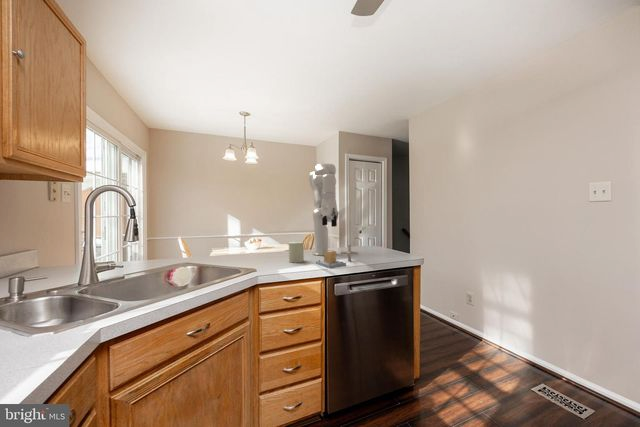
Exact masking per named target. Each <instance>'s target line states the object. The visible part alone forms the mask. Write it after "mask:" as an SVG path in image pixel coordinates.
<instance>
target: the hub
mask: <svg viewBox="0 0 640 427" xmlns="http://www.w3.org/2000/svg"><path fill="white" fill-rule="evenodd" d="M328 251H329V250H328ZM328 251H324V255H323V258H324V259H323V260H324V262H325V263H336V260H337V251H336V250H331V251H332V252H328Z"/></svg>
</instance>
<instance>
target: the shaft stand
mask: <svg viewBox="0 0 640 427" xmlns="http://www.w3.org/2000/svg"><path fill="white" fill-rule="evenodd" d="M332 251H333V250H328V252H332ZM315 265H319V266H322V267H324V268H327V269H333V268H340V267H345V266H347V264H346V262H344V261H339V260H337V259H336V263H325V262H324V259H323V260H322V259H318V260H316V261H315Z"/></svg>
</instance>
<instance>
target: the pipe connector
mask: <svg viewBox="0 0 640 427" xmlns="http://www.w3.org/2000/svg"><path fill="white" fill-rule="evenodd" d="M340 255H347V261H348V262H352V255H359V251H356V250H354V251H353V250H352V245H351V244H347V250H340Z"/></svg>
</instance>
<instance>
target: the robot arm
mask: <svg viewBox="0 0 640 427" xmlns="http://www.w3.org/2000/svg"><path fill="white" fill-rule="evenodd" d="M336 173H337V169H336V165H335V164H334V163H318V164H316V165H315V167H314V171H312V172H310V173H309V175H308V182H309V185H310V186H309V187H310V188H311V189H312V196H313V198H312V199H313V206H314V207H315V208H316V209H314V210H313V212H312V220H313V230H314V231H313V232H314V236H313V237H314V247H313V249H312V250H313V251H312V255H314V256H324V251H329V229H328V226H327V225H328V223H331V227H338V225H337V224H338V223H337V221H338V219H339V213H340V212H339V211H338V205H337V199H336V198H337V197H336V195H337V194H336V193H337V192H336V189H337V187H336V185H337V179H336Z"/></svg>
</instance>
